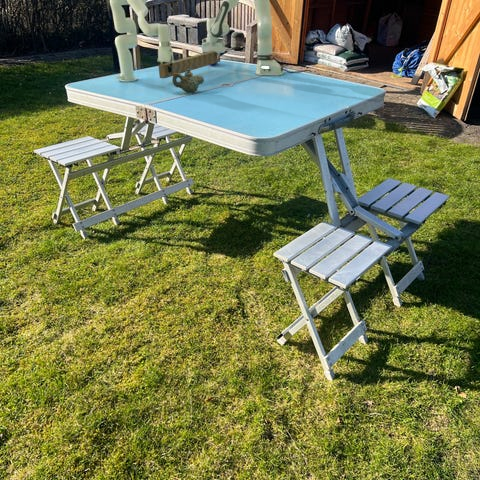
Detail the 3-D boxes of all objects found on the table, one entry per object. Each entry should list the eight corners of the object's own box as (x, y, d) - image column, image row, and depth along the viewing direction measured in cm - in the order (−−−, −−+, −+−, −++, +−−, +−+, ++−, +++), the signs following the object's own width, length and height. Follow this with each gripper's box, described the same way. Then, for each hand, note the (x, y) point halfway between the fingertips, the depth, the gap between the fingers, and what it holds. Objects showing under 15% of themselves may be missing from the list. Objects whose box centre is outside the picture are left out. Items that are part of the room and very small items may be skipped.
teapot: (202, 89, 310) (201, 66, 302) (206, 92, 300) (205, 69, 293) (172, 92, 304) (169, 68, 296) (175, 95, 295) (173, 71, 287)
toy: (212, 67, 383) (203, 66, 406) (231, 60, 386) (220, 59, 410) (206, 48, 375) (197, 48, 399) (225, 41, 378) (215, 41, 402)
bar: (165, 78, 314) (163, 65, 309) (159, 77, 315) (158, 65, 311) (220, 61, 372) (219, 50, 367) (215, 61, 374) (214, 50, 369)
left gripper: (177, 44, 308) (179, 72, 317) (157, 42, 314) (160, 70, 324) (171, 45, 302) (173, 74, 311) (151, 44, 309) (154, 72, 318)
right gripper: (226, 39, 358) (226, 58, 365) (204, 39, 366) (205, 57, 373) (222, 40, 353) (223, 59, 360) (200, 39, 361) (201, 58, 368)
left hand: (166, 71), depth 317 cm, fingers closed on bar, 4 cm apart
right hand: (213, 58), depth 367 cm, fingers closed on bar, 5 cm apart
